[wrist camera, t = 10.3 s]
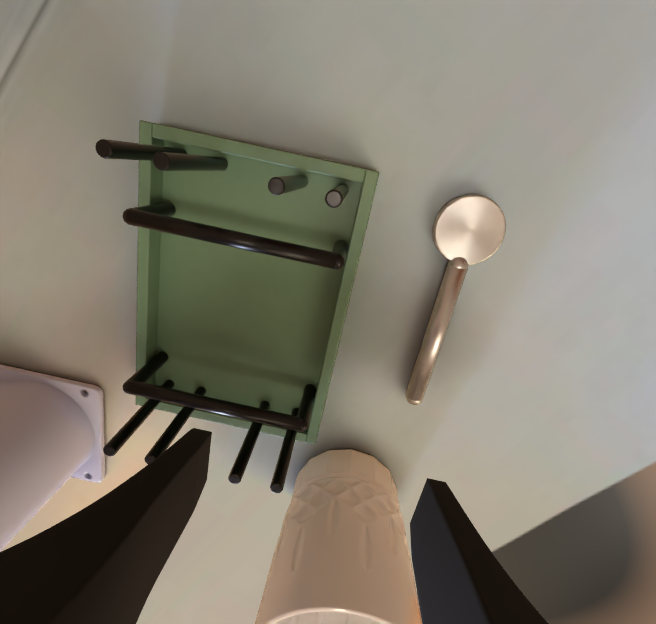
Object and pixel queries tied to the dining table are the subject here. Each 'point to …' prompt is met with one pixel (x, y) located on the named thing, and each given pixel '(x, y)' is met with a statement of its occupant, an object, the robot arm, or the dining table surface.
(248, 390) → the drip tray
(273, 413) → the dish rack
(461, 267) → the round metal paddle
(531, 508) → the dining table surface
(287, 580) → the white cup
